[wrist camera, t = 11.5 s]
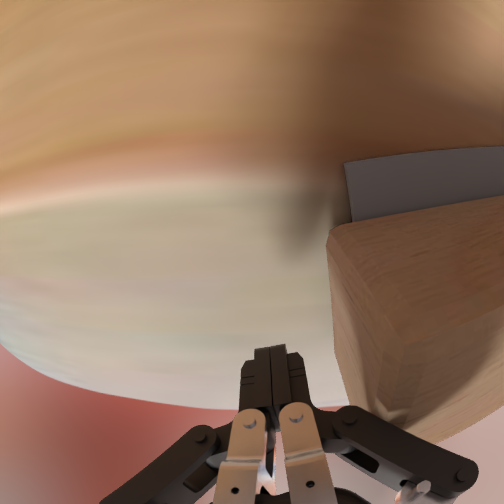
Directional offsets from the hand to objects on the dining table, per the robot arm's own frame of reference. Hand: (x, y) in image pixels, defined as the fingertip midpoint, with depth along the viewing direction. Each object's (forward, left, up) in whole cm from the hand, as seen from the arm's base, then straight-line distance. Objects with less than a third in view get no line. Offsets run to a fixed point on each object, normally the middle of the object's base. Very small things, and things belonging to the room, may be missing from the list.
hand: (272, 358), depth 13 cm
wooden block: (0, +4, 0) cm, 4 cm away
